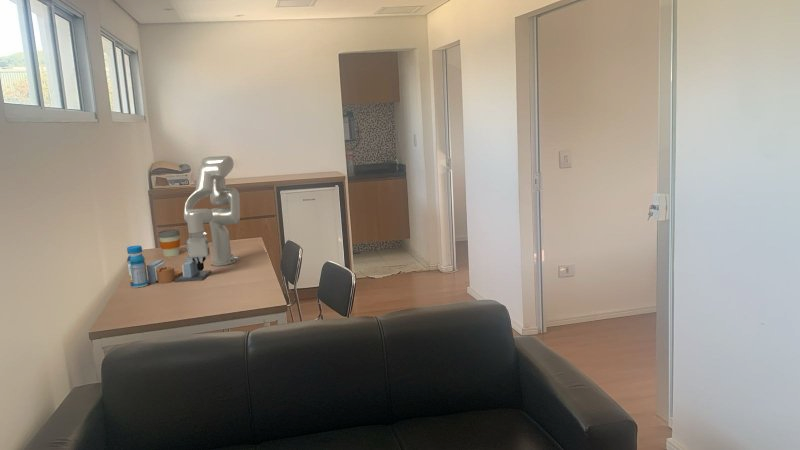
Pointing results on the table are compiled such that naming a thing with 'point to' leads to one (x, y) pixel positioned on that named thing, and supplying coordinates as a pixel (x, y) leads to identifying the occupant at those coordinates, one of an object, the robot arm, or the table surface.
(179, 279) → the plate
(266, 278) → the table surface
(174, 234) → the reusable coffee cup
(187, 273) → the block
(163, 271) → the bracket
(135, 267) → the beverage bottle
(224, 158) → the robot arm
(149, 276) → the block
